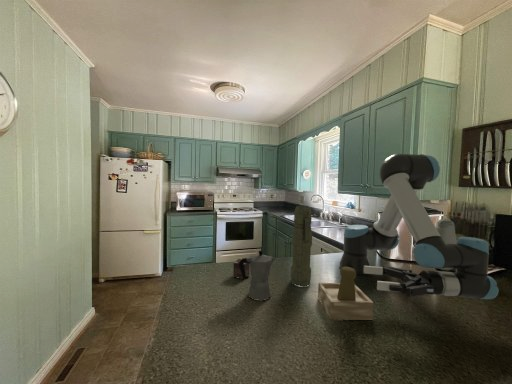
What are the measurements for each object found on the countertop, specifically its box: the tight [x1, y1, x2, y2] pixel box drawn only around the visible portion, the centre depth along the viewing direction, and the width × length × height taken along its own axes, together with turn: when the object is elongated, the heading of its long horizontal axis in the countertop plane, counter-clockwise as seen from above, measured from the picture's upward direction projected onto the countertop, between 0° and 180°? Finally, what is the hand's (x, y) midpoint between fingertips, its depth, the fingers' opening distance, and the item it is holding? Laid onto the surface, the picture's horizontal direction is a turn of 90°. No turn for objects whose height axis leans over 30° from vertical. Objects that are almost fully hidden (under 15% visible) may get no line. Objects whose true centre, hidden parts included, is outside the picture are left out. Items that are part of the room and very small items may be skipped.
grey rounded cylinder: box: [435, 218, 458, 272], centre depth 120 cm, size 10×10×28 cm
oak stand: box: [317, 282, 374, 320], centre depth 79 cm, size 14×14×6 cm
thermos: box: [290, 204, 313, 286], centre depth 99 cm, size 9×12×35 cm
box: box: [232, 258, 250, 278], centre depth 105 cm, size 6×6×7 cm
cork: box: [337, 267, 357, 301], centre depth 76 cm, size 6×6×11 cm
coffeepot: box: [239, 250, 277, 300], centre depth 87 cm, size 15×9×18 cm, turn 110°
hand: (370, 276), depth 78 cm, fingers open, 13 cm apart
